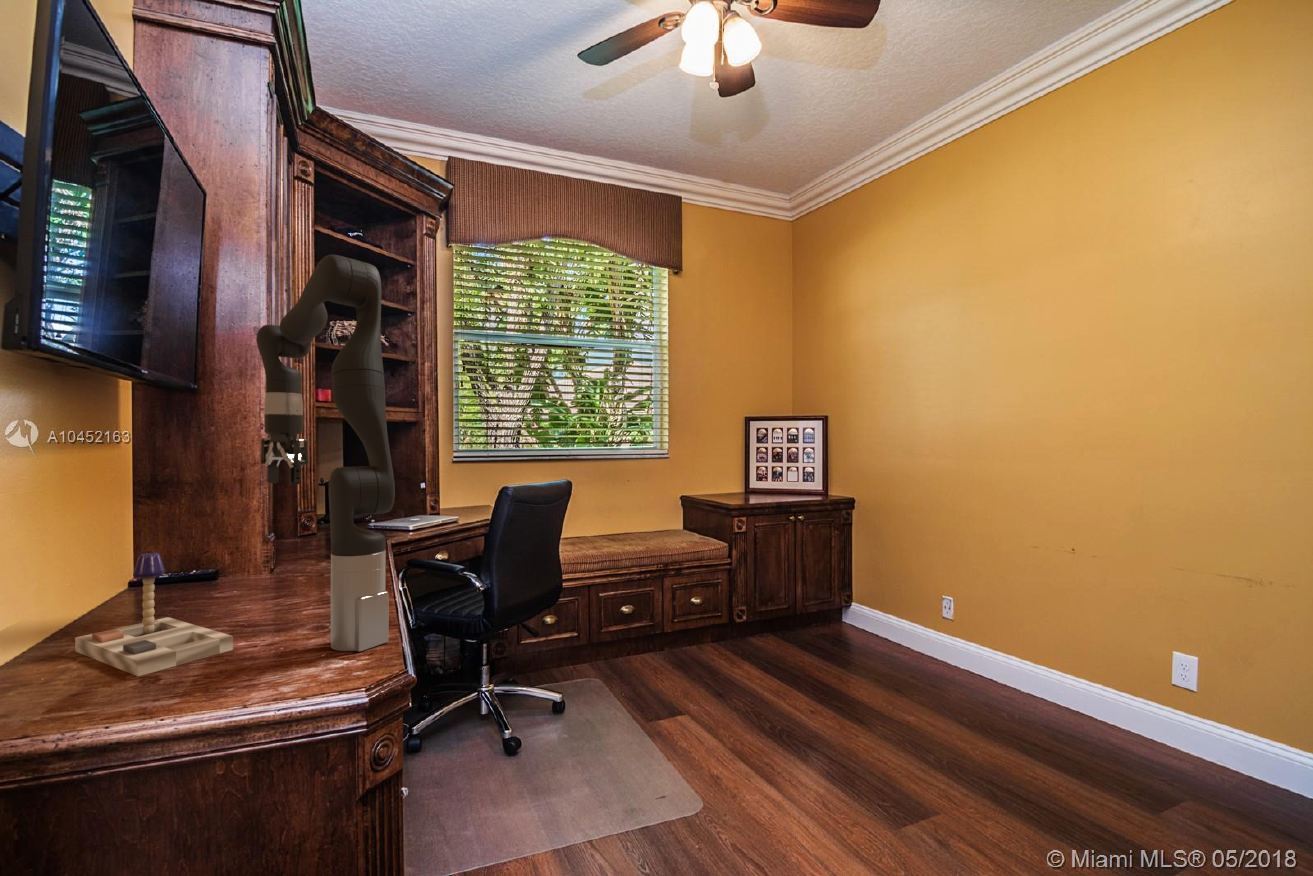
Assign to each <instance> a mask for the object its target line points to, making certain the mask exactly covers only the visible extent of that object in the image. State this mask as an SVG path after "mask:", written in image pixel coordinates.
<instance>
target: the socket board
mask: <svg viewBox="0 0 1313 876" xmlns="http://www.w3.org/2000/svg"><path fill="white" fill-rule="evenodd" d="M143 626H144V625H143V622H140V623H135V624H131V625H127V626H122V627H118V628H113V629H112V628H111V629H109V630H104V631H100V632H94V633H91V634H90V633H89V634H86V635H82V636H78V637H75V638H74V641H75V643H74V649H75V651H74V652H76V653H78V654H80V655H83V656H86V657H89V658H91V659H93V660H96V661H97V662H101V663H103V664H106V665H107V666H111V667H114V668H116V669H118V670H121V671H123V672H126V673H128V674H131V675H133V676H136V677H141V676H145V675H148V674H152V673H155V672H158V671H162V670H166V669H170V668H173V667H177V666H179V665H180V666H181V665H184V664H187V663H191V662H194V661H198V660H202V659H205V658H208V657H212V656H215V655H220V654H223V653H226V652H230V651H233V650H234V635H231V634H228V633H224V632H221V631H218V630H213V629H211V628H206V627H203V626H200V625H196V624H193V623H190V622H185V621H183V620H179V619H175V618H172V617H168V616H167V617H163V618H159V619H155V621H154V627H155V629H154V632H156V633H152V634H147V635H143V636H139V635H141V634H143V630H142V629H143ZM138 636H139V637H138Z"/></svg>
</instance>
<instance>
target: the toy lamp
mask: <svg viewBox="0 0 1313 876" xmlns="http://www.w3.org/2000/svg"><path fill="white" fill-rule="evenodd" d="M165 568H166V567H165V566H164V563H163V560H162V556H161V554H160V553H159V552H149V553H147V552H146V553H142V554H139V556H138V558H137V561H136V564H135V566H134V569H133V570H134V571H133V573H132V577H133V578H137V579H138V578H140V579H141V578H142V584H143V586H142V592H143V593H142V600H143V601H142V609H143V610H142V613H141V614H142V617H143V618H142V622H141V623H143V625H144V626H143V629H142V630H143V634H141V635H139V636H143V635H147V634H152V633H156V632H154V629H155V627H154V621H155V620H156V619H155V616H154V615H155V613H156V612H155V609H154V607H155V604H156V603H155V600H154V599H155V592H154V591H155V589H156V588H155V587H156V586H155V584H154V583H155V580H156V579H155V578H156V577H157V576H159V577H160V576H163V575H165V573H166V569H165ZM139 636H138V637H139Z"/></svg>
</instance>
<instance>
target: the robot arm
mask: <svg viewBox="0 0 1313 876" xmlns="http://www.w3.org/2000/svg"><path fill="white" fill-rule="evenodd" d="M325 302H331V303H334V304H337V305H338V304H339V305H344V306H349V307H353V308H355V310H356V324H355V327H354V330H353V332H352V333H351V336H350V337H349V339H348V340H347V341H346V342H345V344H344V345H343V346H342V348H341V349H340V350H339V352H338V353H337V355H336V357H335V358H334V360H333V363H332V365H331V370H330V372H331V373H330V374H331V390H332V392H331V393H332V399H333V403H334V405H335V407H336V408H337V410H338V412H339V413H340V414H341V416H342V417H343V418H344V420H345V421H346V422H347V423H348V424H349V425H350V427H351V428H352V429H353V431H354V432H355V433H356V435H357V436H358V438H359V439H360V441H361V442H362V444H363V447H364V449H365V451H366V455H367V458H368V464H369V465H365V466H363V465H361V466H360V465H359V466H341V467H336V468H334V469H333V470H332V471H331V474H330V476H329V480H328V507H329V521H330V522H329V524H330V525H329V527H330V528H329V529H330V530H329V533H330V536H329V537H330V648H331V649H332V650H335V651H339V652H362V651H365V650H369V649H372V648H374V647H377V646H380V645H383V644H385V643H389V627H390V626H389V625H390V624H389V608H390V607H389V604H390V601H389V592H388V591H386V561H387V559H386V558H387V557H386V555H387V554H386V548H387V547H386V543H387V541H386V537H385V535H383V534H382V533H379V532H375V531H371V530H366V529H363V528H361V527H359V526H358V525H356V524H355V522H354V519H353V517H354V516H355V517H356V516H357V517H358V516H369V515H381V514H387V513H389V512H391V510H392V509H393V508H394V504H395V497H396V487H395V486H396V485H395V477H394V469H393V464H392V463H393V462H392V456H391V451H390V450H391V448H390V442H389V437H388V425H387V409H386V407H387V406H386V387H385V385H386V383H385V373H384V371H385V370H384V364H383V362H384V361H383V354H382V353H383V351H382V335H381V332H382V331H381V323H382V280H381V275H380V271H379V270H378V269H377V267H376V266H374V265H373V264H371V263H368V262H365V261H362V260H358V259H354V258H349V257H346V256H342V255H337V254H327V255H325V256H324V257H323V258H321V259H320V261H319V262H318V263H317V265H316V266H315V268H314V270H313V271H312V273H311V275H310V277H309V279H308V281H307V283H306V284H305V287H304V288H303V291H302V292H301V294H300V296H299V298H298V300H297V302H296V303H295V305H294V306H292V307H291V309H289V311H288V312H286V314H285V315H284V316H283V317H282V318H281V320H280V322H279V325H276V324H264V325H262V326H261V327H260V328H259V329H258V331H257V333H256V337H255V338H256V339H255V341H256V346H257V349H258V353H259V355H260V357H261V360H262V365H263V368H264V373H265V396H264V397H265V398H264V407H263V408H264V411H263V412H264V413H263V414H264V416H263V417H264V423H263V424H264V425H263V426H264V428H263V429H264V430H263V431H264V433H265V434H267V435H268V434H269V435H270V438H268V437H267V438H262V439H261V442H260V443H261V445H260V464H261V465H264V466H265V467H266V468H267V469H266V472H267V475H266V479H267V482H266V483H267V484H278V483H279V481H280V479H279V478H280V476H279V474H280V472H279V471H280V470H279V465H280V464H281V463H280V462H281V461H282V460H284V461H286V462H287V465H288V466H289V468H288V483H289V485H293V486H294V485H300V484H301V482H302V481H301V479H302V478H301V473H302V468H303V466H307V465H308V461H309V460H308V459H309V458H308V440H307V438H298V435H301V434H303V432H304V415H303V414H304V402H303V396H302V393H303V392H302V390H303V388H302V385H303V384H302V381H303V379H302V378H303V377H302V376H303V375H302V372H301V371H300V370H299V369H298V368H294V367H290V366H287V365H285V364H283V362H282V361H281V360H280V358H289V359H301V358H305V357H306V356H307V355H309V353H310V350H311V347H312V343H313V341H314V338H316V337H317V336H318V335H319V334H320V333H321V332H322V331H323V330H324V329H325V327H326V325H327V323H328V322H327V321H328V310H327V309H326V305H325ZM301 457H302V458H301Z"/></svg>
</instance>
